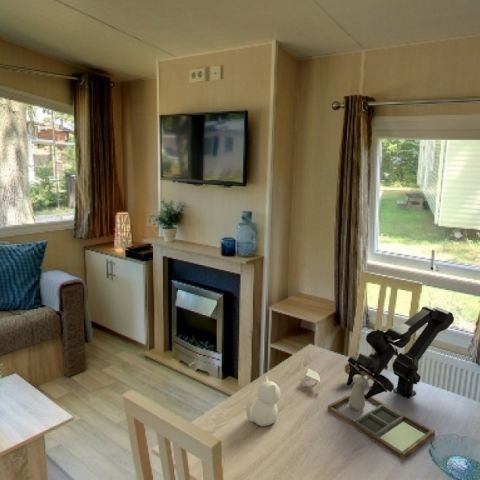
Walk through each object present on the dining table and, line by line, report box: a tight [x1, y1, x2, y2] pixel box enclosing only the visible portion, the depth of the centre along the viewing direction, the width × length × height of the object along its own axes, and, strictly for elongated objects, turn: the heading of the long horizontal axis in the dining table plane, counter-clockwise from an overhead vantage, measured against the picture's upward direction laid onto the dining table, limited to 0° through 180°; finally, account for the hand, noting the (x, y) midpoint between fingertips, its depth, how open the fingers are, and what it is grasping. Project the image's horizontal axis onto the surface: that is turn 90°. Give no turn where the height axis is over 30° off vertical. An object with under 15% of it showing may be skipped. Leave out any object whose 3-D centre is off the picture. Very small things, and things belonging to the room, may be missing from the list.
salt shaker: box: [348, 375, 366, 413], centre depth 145 cm, size 6×6×13 cm
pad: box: [379, 421, 426, 452], centre depth 132 cm, size 14×8×1 cm, turn 127°
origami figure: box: [299, 367, 322, 394], centre depth 160 cm, size 12×8×5 cm
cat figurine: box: [245, 375, 282, 427], centre depth 137 cm, size 9×12×15 cm
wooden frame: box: [327, 391, 436, 461], centre depth 139 cm, size 19×30×2 cm, turn 37°
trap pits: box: [353, 404, 404, 438], centre depth 139 cm, size 17×9×2 cm, turn 127°
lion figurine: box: [344, 362, 378, 385], centre depth 163 cm, size 15×5×9 cm, turn 95°
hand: (356, 391), depth 145 cm, fingers open, 9 cm apart
